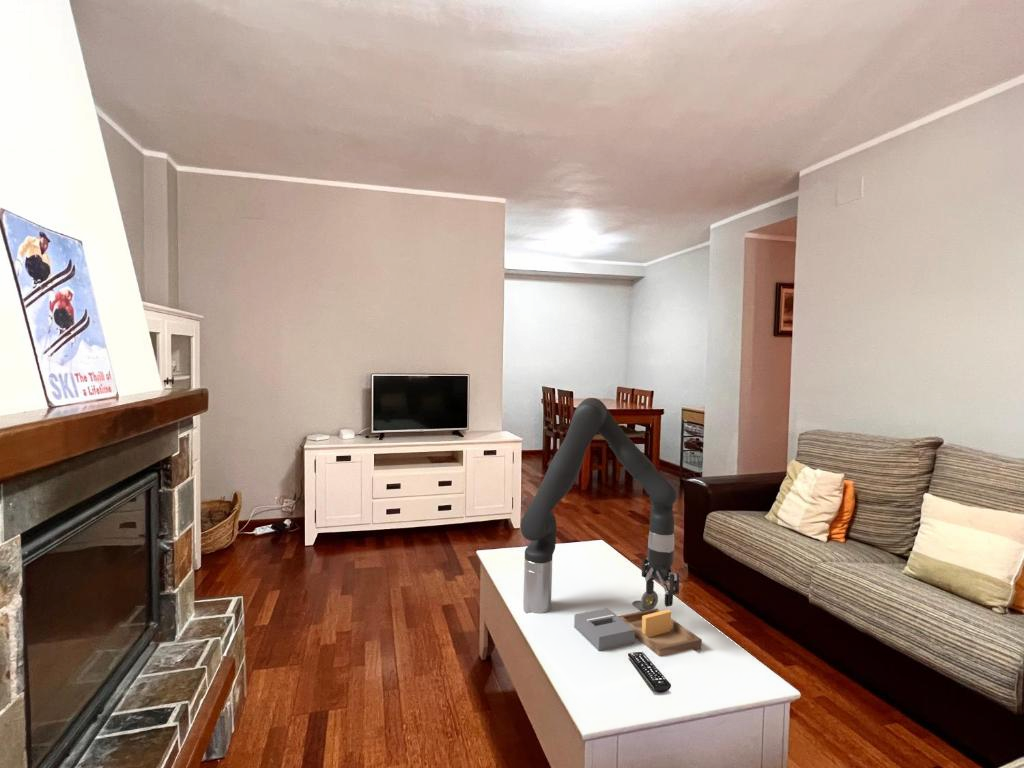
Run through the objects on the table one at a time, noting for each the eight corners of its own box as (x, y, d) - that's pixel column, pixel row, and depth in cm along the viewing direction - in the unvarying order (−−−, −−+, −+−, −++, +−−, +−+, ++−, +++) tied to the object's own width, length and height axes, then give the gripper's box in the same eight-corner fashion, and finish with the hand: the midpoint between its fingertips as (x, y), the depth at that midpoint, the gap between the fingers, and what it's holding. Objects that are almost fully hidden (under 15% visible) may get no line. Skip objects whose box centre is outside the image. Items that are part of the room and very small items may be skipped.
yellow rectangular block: (642, 615, 151) (667, 609, 156) (641, 635, 152) (666, 628, 156) (645, 618, 150) (671, 611, 154) (645, 638, 150) (670, 631, 155)
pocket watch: (635, 601, 176) (636, 573, 176) (659, 608, 172) (660, 579, 171) (627, 611, 169) (628, 581, 169) (653, 618, 165) (654, 587, 164)
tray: (617, 625, 159) (618, 616, 159) (656, 617, 165) (657, 608, 165) (659, 659, 141) (659, 649, 141) (701, 649, 147) (701, 639, 146)
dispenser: (574, 630, 156) (574, 613, 155) (607, 623, 160) (607, 606, 160) (598, 654, 143) (599, 635, 143) (634, 646, 147) (634, 628, 147)
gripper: (636, 540, 157) (634, 591, 158) (666, 556, 144) (664, 612, 145) (655, 537, 160) (653, 588, 161) (687, 553, 147) (685, 608, 148)
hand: (658, 599), depth 153 cm, fingers open, 8 cm apart
